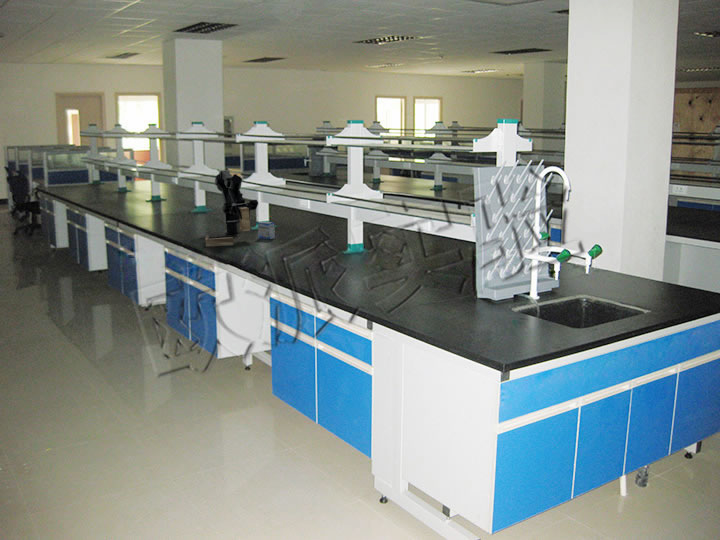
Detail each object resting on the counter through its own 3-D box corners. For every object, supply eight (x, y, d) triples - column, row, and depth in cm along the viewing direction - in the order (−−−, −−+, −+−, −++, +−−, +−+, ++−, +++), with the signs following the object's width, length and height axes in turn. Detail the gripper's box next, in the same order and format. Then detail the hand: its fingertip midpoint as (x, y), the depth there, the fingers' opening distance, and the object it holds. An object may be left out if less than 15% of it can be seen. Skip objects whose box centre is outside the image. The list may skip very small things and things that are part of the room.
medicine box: (258, 238, 373) (257, 222, 371) (263, 237, 376) (262, 221, 374) (270, 239, 369) (269, 223, 367) (275, 238, 373) (274, 222, 371)
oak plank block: (240, 230, 369) (238, 208, 366) (247, 229, 371) (245, 207, 368) (243, 231, 365) (241, 208, 363) (250, 230, 367) (248, 208, 365)
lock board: (206, 241, 367) (205, 235, 366) (232, 240, 370) (232, 233, 369) (205, 246, 354) (205, 239, 353) (233, 244, 356) (233, 238, 356)
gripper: (248, 203, 383) (258, 225, 376) (216, 206, 374) (225, 229, 367) (253, 190, 375) (263, 213, 368) (220, 193, 365) (230, 216, 358)
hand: (245, 218), depth 366 cm, fingers closed on oak plank block, 4 cm apart
